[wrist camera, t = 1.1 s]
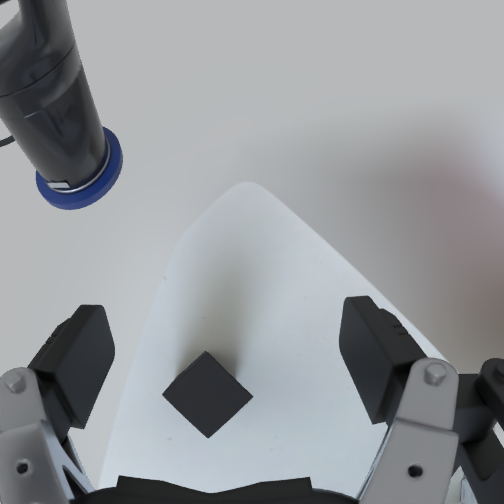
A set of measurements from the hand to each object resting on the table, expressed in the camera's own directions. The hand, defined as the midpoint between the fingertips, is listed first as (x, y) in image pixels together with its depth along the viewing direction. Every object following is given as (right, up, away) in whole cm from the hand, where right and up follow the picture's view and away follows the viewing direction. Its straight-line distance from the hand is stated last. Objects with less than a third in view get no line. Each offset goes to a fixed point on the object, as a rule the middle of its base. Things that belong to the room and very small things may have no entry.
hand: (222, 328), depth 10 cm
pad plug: (-3, -9, +17) cm, 20 cm away
